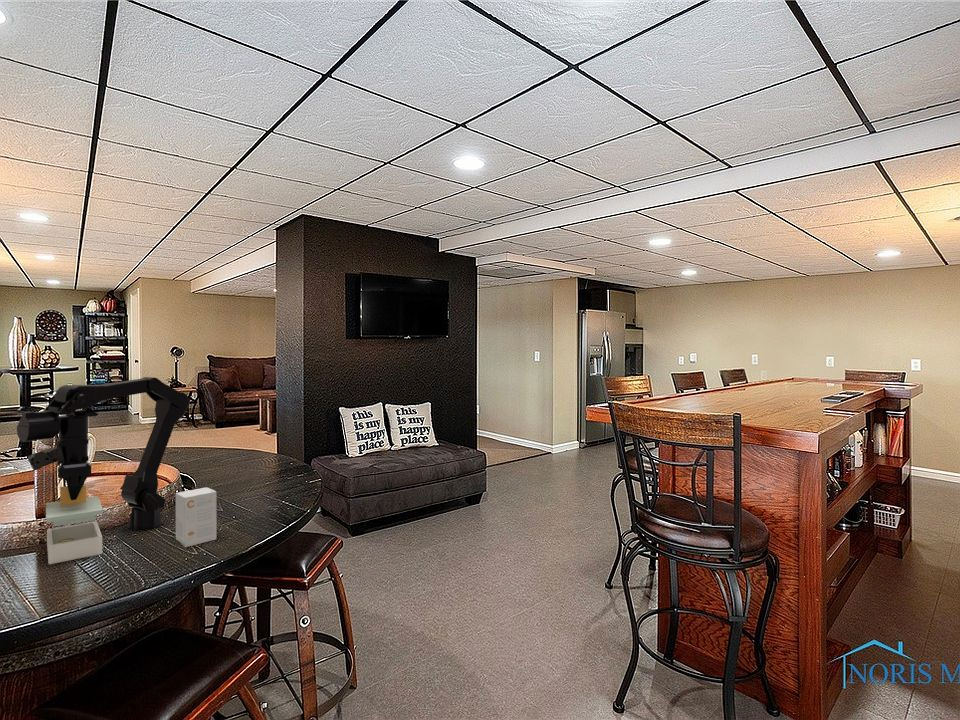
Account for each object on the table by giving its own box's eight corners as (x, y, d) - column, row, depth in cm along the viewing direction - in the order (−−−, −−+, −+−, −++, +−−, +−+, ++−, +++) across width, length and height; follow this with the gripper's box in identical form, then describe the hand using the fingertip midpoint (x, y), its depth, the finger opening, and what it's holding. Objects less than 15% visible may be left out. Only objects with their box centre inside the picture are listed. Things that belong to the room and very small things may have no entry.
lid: (45, 513, 128) (45, 487, 128) (98, 505, 135) (98, 480, 135) (46, 529, 117) (46, 500, 117) (102, 520, 124) (102, 493, 124)
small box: (207, 533, 142) (207, 486, 142) (217, 539, 138) (217, 491, 138) (174, 541, 136) (174, 492, 136) (183, 548, 132) (184, 497, 132)
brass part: (76, 546, 130) (76, 538, 130) (67, 550, 127) (67, 542, 127) (64, 545, 130) (64, 538, 130) (54, 550, 127) (54, 542, 127)
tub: (47, 549, 130) (47, 529, 130) (96, 540, 136) (96, 521, 136) (48, 567, 119) (48, 546, 119) (102, 556, 126) (102, 536, 126)
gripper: (31, 433, 131) (31, 495, 131) (29, 445, 116) (29, 514, 117) (86, 429, 138) (86, 488, 138) (91, 440, 124) (91, 505, 124)
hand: (73, 498), depth 129 cm, fingers closed on lid, 2 cm apart
